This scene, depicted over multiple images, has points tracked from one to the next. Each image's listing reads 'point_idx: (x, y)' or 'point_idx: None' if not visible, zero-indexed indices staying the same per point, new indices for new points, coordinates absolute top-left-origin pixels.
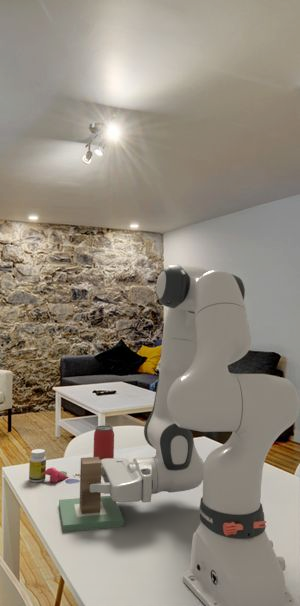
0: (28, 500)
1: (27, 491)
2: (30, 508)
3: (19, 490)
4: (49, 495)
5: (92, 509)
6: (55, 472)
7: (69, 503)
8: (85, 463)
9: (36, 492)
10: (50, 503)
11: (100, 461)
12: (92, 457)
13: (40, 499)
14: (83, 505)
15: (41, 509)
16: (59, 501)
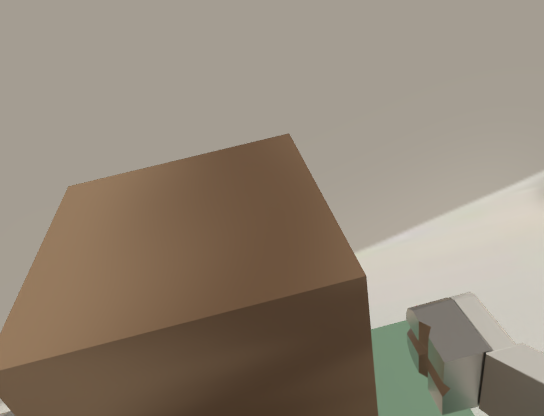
0: (437, 225)
1: (528, 200)
2: (362, 250)
3: (523, 180)
4: (530, 275)
5: None
6: None
7: (377, 379)
8: (73, 200)
9: (536, 225)
10: (433, 300)
11: (71, 347)
12: (315, 210)
13: (464, 256)
14: None
15: None
16: (393, 324)
